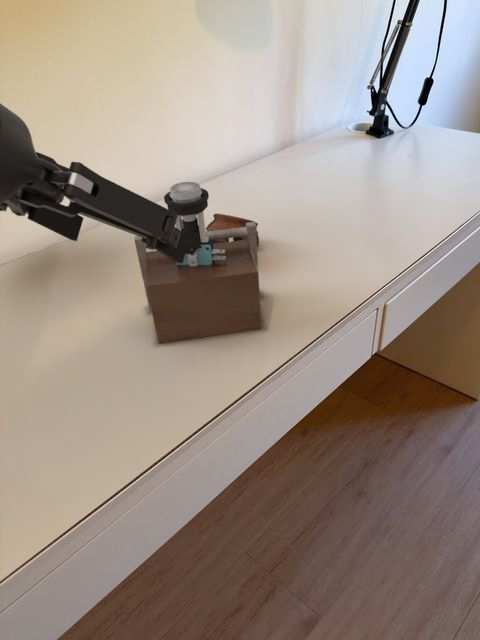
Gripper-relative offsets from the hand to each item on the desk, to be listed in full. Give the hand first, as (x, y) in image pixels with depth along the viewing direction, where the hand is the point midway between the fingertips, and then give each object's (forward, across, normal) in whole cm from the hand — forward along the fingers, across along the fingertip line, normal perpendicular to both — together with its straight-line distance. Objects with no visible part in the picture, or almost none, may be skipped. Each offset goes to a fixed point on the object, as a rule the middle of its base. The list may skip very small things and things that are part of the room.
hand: (128, 239), depth 55 cm
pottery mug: (+33, -3, +7) cm, 34 cm away
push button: (+15, +1, +2) cm, 15 cm away
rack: (+21, +1, -4) cm, 21 cm away
